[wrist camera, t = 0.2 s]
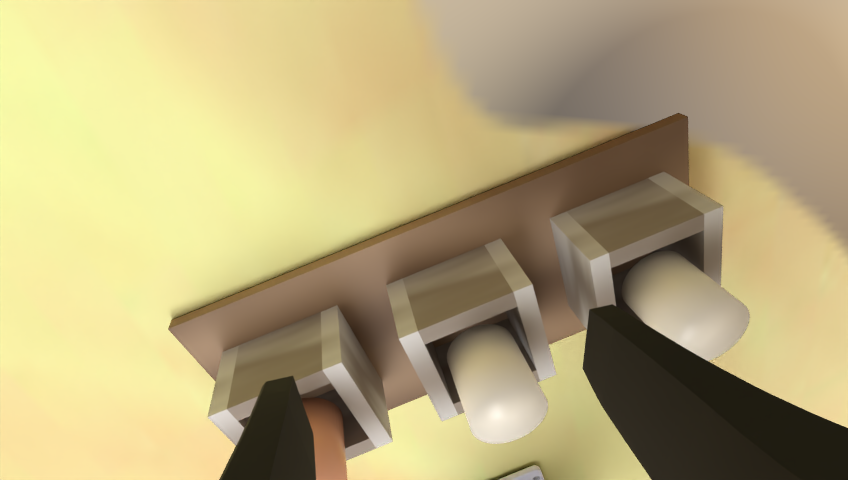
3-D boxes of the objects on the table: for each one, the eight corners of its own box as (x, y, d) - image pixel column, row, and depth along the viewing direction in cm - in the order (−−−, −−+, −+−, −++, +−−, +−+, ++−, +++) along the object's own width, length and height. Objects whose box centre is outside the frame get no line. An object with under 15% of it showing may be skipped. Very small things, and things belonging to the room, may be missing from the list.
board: (683, 280, 26) (742, 330, 22) (281, 444, 26) (277, 520, 22) (678, 112, 20) (755, 144, 17) (171, 320, 20) (142, 394, 17)
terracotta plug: (354, 428, 21) (360, 503, 18) (291, 454, 21) (288, 532, 18) (324, 387, 19) (327, 462, 16) (256, 415, 19) (247, 495, 16)
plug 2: (687, 292, 21) (747, 345, 18) (624, 318, 21) (674, 374, 18) (686, 240, 19) (751, 288, 16) (618, 267, 19) (672, 321, 16)
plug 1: (520, 360, 21) (554, 424, 18) (457, 386, 21) (481, 453, 18) (505, 313, 19) (539, 375, 16) (437, 341, 19) (459, 407, 16)
